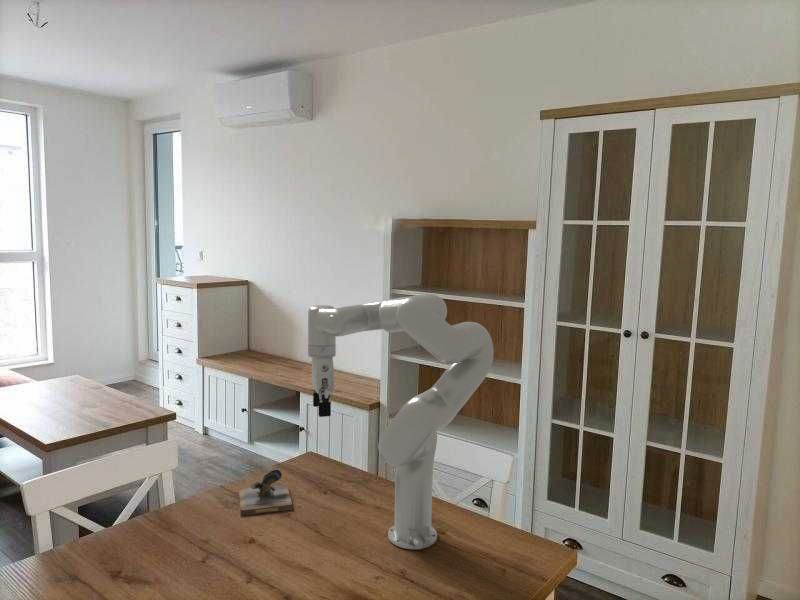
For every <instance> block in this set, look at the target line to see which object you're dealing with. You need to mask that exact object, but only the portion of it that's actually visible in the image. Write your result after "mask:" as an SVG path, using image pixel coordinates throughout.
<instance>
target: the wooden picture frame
mask: <svg viewBox="0 0 800 600" xmlns="http://www.w3.org/2000/svg"><path fill="white" fill-rule="evenodd" d="M271 486H272V487H275V488H271V489H272V491H273V493H274V495H273V494H271V493H269V492H266V493H265V495H264V497H262V499H261V500H260V494H259V493H258V494H257V493H256V492H260V490H259V489H258V488H257V489H252V488H251V487H244V488H239V489H238V495H239V496H238V497H239V498H238V499H239V510H240V511H239V512H240V516H249V515H257V514H267V513H275V512H283V511H292V510H293V502H292V498H291V493H290V491H289V487H288V484H287V483H283V484H275V485H271Z"/></svg>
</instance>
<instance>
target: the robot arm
mask: <svg viewBox="0 0 800 600" xmlns="http://www.w3.org/2000/svg"><path fill="white" fill-rule="evenodd" d="M447 314H448V307H447V304H446V302H445V300H444V299H443V298H442V297H440V296H439V295H438V294H437V295H436V294H431V293H426V294H425V293H424V294H419V295H412V296H404V297H403V296H402V297H396V298H395V297H394V298H386V299H384V300H383V301H379V302H378V301H377V302H370V303H363V304H354V305H347V306H342V307H341V306H340V307H334V306H332V305H327V304H318V305H317V304H316V305H311V306H310V307H309V309H308V311H307V323H308V324H307V356H308V357H309V358H311V385H312V388H313V393H312V404H313V407H314V408H315V407H318V417H319V418H320V417H321V418H322V417H323V418H324V417H325V418H326V417H330V416H332V415H331V414H332V411H331V409H332V408H331V406H332V401H331V394H334V392H335V370H334V369H335V368H334V366H335V365H334V360H333V359H334V357H336V353H337V349H336V348H337V347H336V346H337V345H336V344H337V343H336V341H337V340H336V339H337V337H344V336H349V335H352V334H357V333H362V332H369V331H370V332H371V331H379V330H381V331H382V330H384V331H385V332H387V333H399V332H400V333H401V332H405V333H406V334H407V335H408V336H409V337H410V338H412V339H413V341H415V342H416V343H417V344H418V345H420V347H422V348H423V349H424V350H425V351H427V352H428V353H429V354H431V355H432V356H433V357H434V358H435V359H437V360H439V361H440V362H442V363H445V364H448V365H449V364H450V365H449V366H448V367H447V368H446V369H445V371H444V372H443V373H442V374H441V376H440V378H438V379H437V381H436V382H435V383H434V384H433V386H431V388H429V389H428V390H426V391H424V392H422V393H419V394H417V395H415V396H413V397H412V398H410V399H409V400H408V401H407V402H406V403H404V405H403V406H402V407H401V408H400V410H398V412H397V413H396V415H395V416H394V417H393V418H392V419H391V421H390V422H389V423H388V425H386V428H384V430H383V431H382V432H381V435H380V437H379V440H378V453H379V455H380V458H381V459H382V461H383V462H384V463H386V464H388V465H389V466H391V467H395V474H394V475H395V476H394V477H395V480H394V484H395V485H394V525H392V526H390V528H389V529H388V532H387V538H388V540H389V542H390V543H392V544H393V545H394V546H396V547H399V548H402V549H406V550H422V549H426V548H429V547H431V546H433V545H434V544H435V543H436V542H437V540H438V532H437V530H436V529H435V528H434V527H433V526H432V519H433V518H432V510H433V481H434V463H435V455H436V450H437V443H438V433H437V432H438V431H441V429H444V428H445V427H446V426H448V425H449V424H450V423H451V422H452V421H453V420H454V418H455V417H456V416H457V414H458V413H459V412H460V410H461V409H462V408H463V407H464V406H465V404H466V403H467V402H468V400H470V398H471V397H472V395H473V394H475V392H476V390H477V389H478V388H479V387H480V385H481V384H482V383H483V381H484V380H485V379H486V377H487V375H488V374H489V371H490V370H491V367H492V363H493V361H494V343H493V340H492V337H491V335H490V332H489V331H488V330H487V328H486V327H484V326H483V325H482V324H480V323H479V322H474V321H464V322H463V321H462V322H460V323H455V324H453V325H451V324H450V323H449V322H447V321H446V318H447V316H448V315H447Z"/></svg>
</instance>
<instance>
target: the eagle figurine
mask: <svg viewBox="0 0 800 600" xmlns="http://www.w3.org/2000/svg"><path fill="white" fill-rule="evenodd" d="M282 475H283V474H282V472H281V470H279V469H273V470H271V471H269V472H268V473H266V474H264V476H263V478H262V481H261V482H259V481H255V482H253V483H252V484H250V488H252V489H257V488H258V489H259V490H260V492H256V493H257V494H258V493H259V494H260V500H261V499H262V497H264V495H265V493H266V492H269V493H271V494H273V495H274V493H273V491H272V489H271V488H275V487H272V486H273V485H272V484H274V483H276V482H278V481H279V480H281V478H282Z"/></svg>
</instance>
